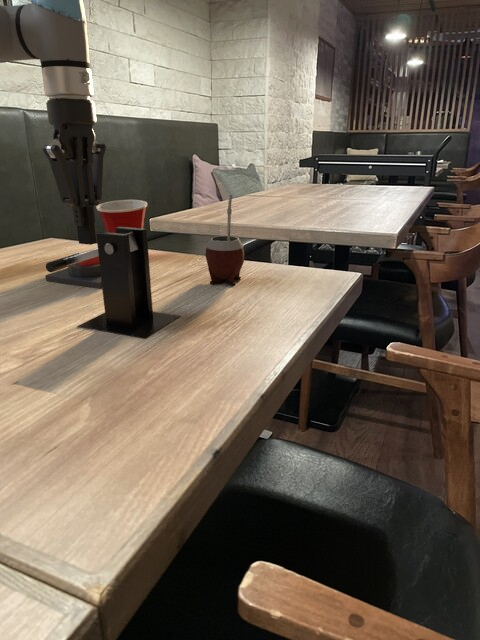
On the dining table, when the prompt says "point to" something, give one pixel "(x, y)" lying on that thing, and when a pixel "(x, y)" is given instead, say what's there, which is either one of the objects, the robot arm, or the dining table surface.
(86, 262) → the button
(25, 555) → the dining table surface
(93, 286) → the button box
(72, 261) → the lever
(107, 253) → the bracket
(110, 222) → the plastic cup
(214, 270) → the mate gourd
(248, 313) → the dining table surface
